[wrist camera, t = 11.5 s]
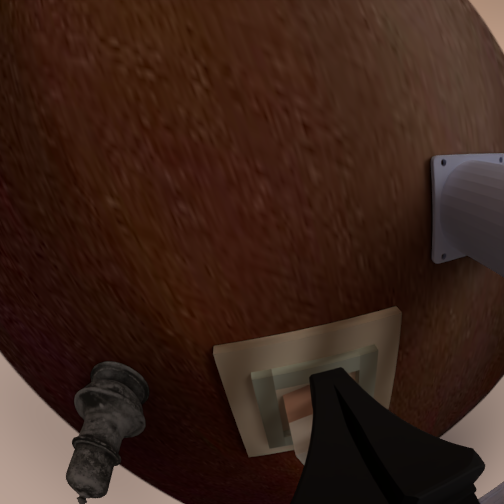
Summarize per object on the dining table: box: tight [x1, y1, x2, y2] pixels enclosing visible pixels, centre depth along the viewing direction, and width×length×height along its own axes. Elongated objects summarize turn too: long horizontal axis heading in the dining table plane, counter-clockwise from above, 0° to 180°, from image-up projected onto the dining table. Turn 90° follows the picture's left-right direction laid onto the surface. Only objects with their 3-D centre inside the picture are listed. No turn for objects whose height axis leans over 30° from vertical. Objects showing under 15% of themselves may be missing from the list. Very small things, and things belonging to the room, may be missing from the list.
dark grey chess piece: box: [66, 362, 149, 504], centre depth 16 cm, size 6×6×12 cm
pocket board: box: [213, 306, 402, 457], centre depth 23 cm, size 14×14×2 cm
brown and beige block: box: [283, 385, 313, 465], centre depth 20 cm, size 4×4×6 cm
